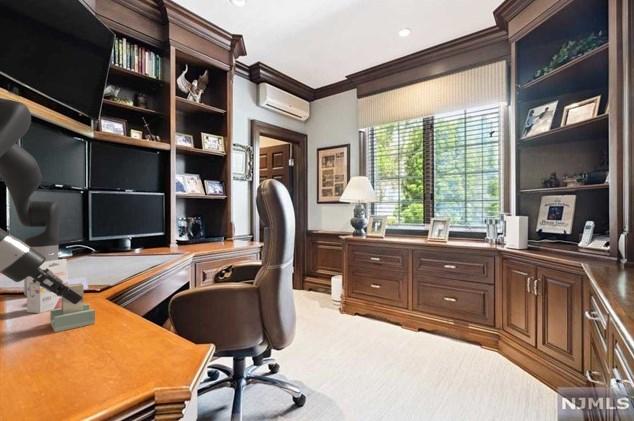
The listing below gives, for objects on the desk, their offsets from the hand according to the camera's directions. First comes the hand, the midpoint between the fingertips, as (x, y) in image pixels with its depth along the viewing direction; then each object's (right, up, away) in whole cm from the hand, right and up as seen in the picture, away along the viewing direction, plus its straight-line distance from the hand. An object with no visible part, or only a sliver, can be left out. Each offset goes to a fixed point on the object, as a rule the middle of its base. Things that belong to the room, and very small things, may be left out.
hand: (77, 299), depth 82 cm
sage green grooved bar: (-1, -6, -1) cm, 6 cm away
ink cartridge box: (-18, -7, +12) cm, 23 cm away
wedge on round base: (-22, -7, +22) cm, 32 cm away
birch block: (-1, -4, -1) cm, 4 cm away
